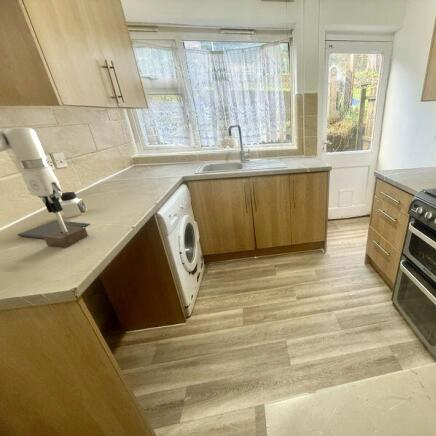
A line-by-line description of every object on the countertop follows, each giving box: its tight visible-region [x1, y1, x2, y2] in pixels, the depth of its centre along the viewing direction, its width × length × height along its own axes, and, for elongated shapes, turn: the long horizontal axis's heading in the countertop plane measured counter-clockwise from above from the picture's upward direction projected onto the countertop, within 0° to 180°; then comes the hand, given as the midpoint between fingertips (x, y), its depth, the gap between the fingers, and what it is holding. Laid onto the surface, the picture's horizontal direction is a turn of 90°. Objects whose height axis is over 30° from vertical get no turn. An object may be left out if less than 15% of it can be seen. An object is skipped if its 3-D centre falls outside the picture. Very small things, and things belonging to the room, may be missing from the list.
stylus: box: [54, 211, 68, 233], centre depth 96 cm, size 1×1×15 cm
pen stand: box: [43, 226, 89, 249], centre depth 99 cm, size 9×9×4 cm
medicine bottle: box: [59, 191, 88, 218], centre depth 125 cm, size 7×7×12 cm
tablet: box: [17, 219, 91, 240], centre depth 110 cm, size 15×22×1 cm
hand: (55, 211), depth 95 cm, fingers closed on stylus, 1 cm apart
